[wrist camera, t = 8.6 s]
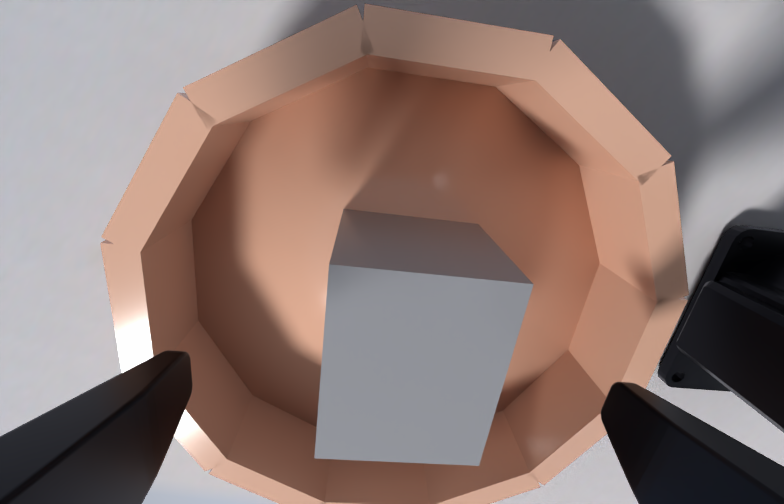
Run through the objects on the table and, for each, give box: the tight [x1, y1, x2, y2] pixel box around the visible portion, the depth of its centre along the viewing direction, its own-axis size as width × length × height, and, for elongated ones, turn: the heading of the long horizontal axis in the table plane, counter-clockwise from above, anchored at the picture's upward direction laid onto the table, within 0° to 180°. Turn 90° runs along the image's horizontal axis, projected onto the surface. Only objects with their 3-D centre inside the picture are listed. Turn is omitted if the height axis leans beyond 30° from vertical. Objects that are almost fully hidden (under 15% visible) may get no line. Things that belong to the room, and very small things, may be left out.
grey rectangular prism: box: [314, 209, 534, 466], centre depth 10 cm, size 4×5×4 cm
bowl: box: [101, 4, 689, 504], centre depth 11 cm, size 14×14×4 cm
